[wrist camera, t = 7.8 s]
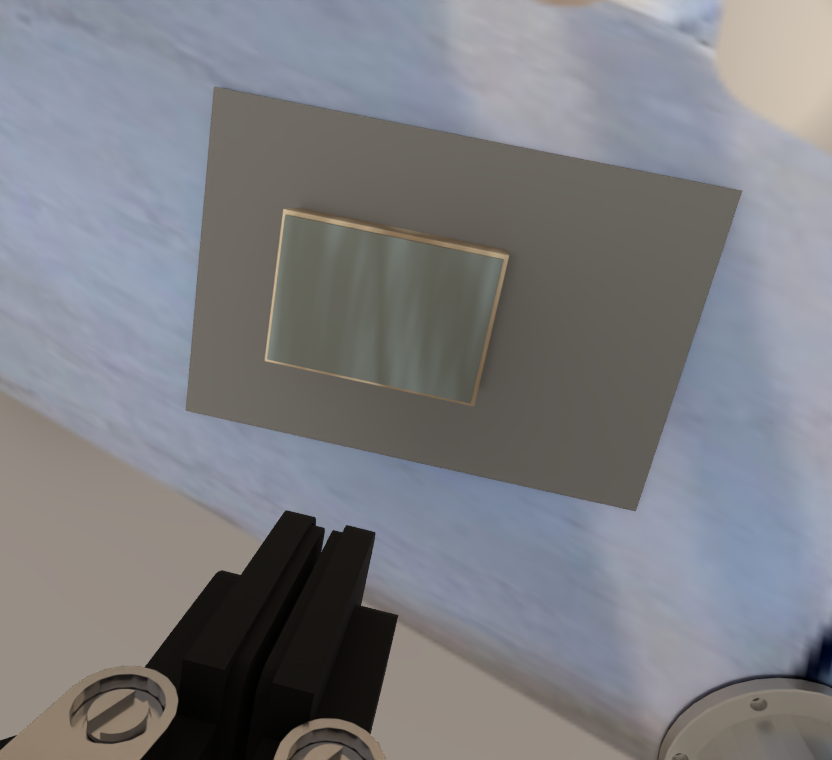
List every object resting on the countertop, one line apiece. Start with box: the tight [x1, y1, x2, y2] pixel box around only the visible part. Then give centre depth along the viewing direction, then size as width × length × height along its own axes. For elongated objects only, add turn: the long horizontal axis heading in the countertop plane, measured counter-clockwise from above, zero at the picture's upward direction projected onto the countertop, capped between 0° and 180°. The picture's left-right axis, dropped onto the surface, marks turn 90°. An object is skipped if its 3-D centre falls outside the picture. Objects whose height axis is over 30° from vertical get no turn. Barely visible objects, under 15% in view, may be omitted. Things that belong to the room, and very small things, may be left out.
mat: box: [186, 87, 742, 511], centre depth 31 cm, size 24×16×1 cm, turn 79°
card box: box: [265, 207, 509, 406], centre depth 30 cm, size 3×7×10 cm
